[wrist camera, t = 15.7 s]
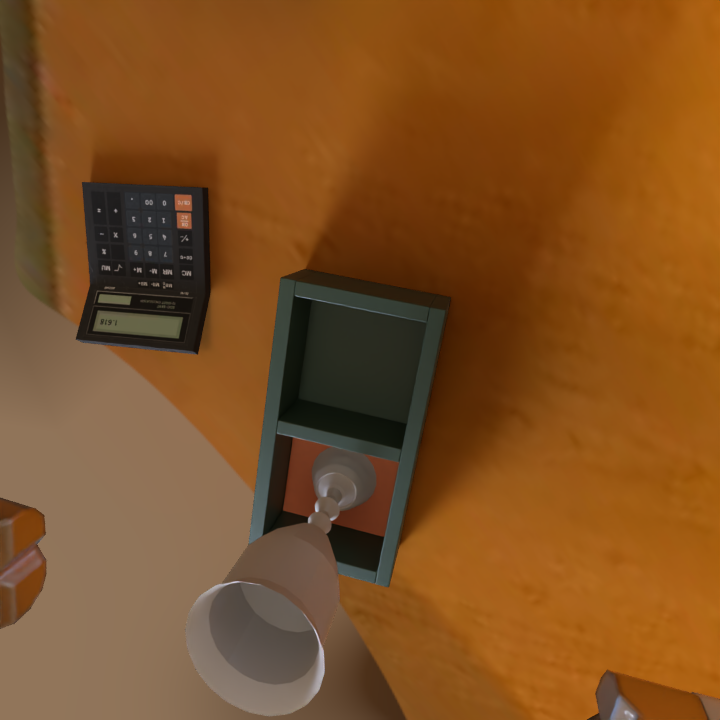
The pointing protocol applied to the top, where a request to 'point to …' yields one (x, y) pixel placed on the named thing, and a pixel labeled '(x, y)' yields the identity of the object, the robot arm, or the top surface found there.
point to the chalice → (279, 601)
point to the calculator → (146, 266)
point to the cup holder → (347, 407)
